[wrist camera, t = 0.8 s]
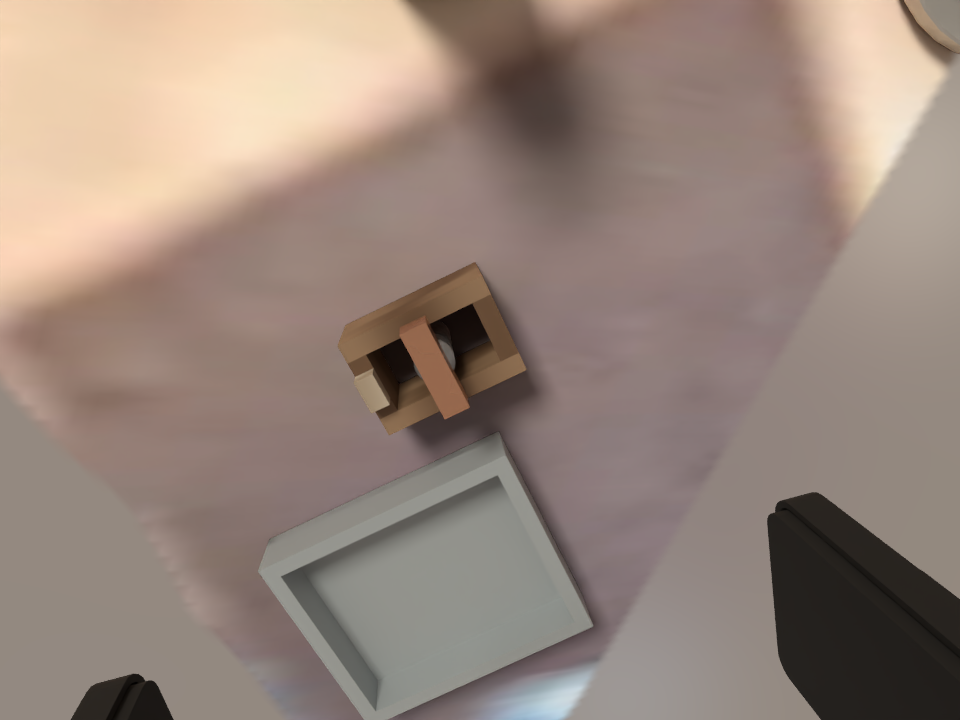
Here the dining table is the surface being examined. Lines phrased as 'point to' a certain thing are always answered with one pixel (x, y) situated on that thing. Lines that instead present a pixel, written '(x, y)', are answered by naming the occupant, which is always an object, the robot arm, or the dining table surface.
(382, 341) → the collar
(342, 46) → the dining table surface
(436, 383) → the brown grey t-shaped piece
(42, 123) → the dining table surface
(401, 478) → the tray
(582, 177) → the dining table surface
